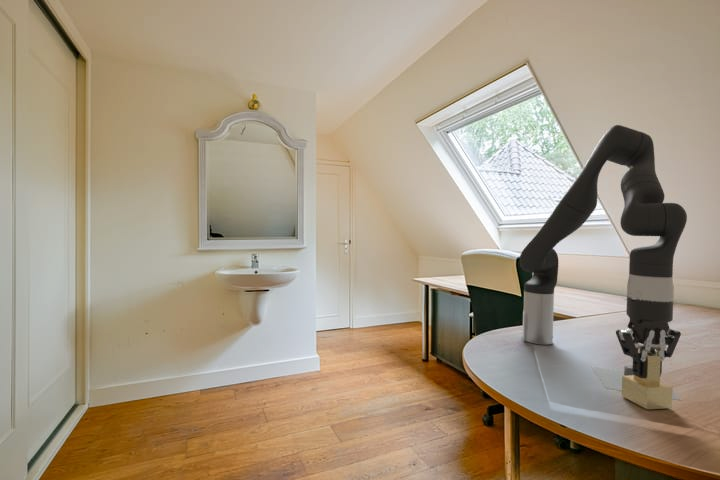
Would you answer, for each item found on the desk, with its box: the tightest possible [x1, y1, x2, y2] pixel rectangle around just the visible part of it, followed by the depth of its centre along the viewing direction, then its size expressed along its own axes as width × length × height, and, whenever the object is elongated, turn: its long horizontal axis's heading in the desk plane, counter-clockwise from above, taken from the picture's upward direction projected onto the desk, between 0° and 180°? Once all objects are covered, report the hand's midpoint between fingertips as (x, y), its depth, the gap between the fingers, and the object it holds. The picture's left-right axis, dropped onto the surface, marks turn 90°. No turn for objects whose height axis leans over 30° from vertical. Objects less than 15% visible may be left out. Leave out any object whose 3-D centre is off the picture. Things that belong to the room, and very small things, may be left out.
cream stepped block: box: [621, 349, 673, 410], centre depth 72 cm, size 6×6×11 cm
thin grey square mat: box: [591, 364, 683, 402], centre depth 83 cm, size 14×14×4 cm
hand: (646, 376), depth 72 cm, fingers closed on cream stepped block, 3 cm apart
